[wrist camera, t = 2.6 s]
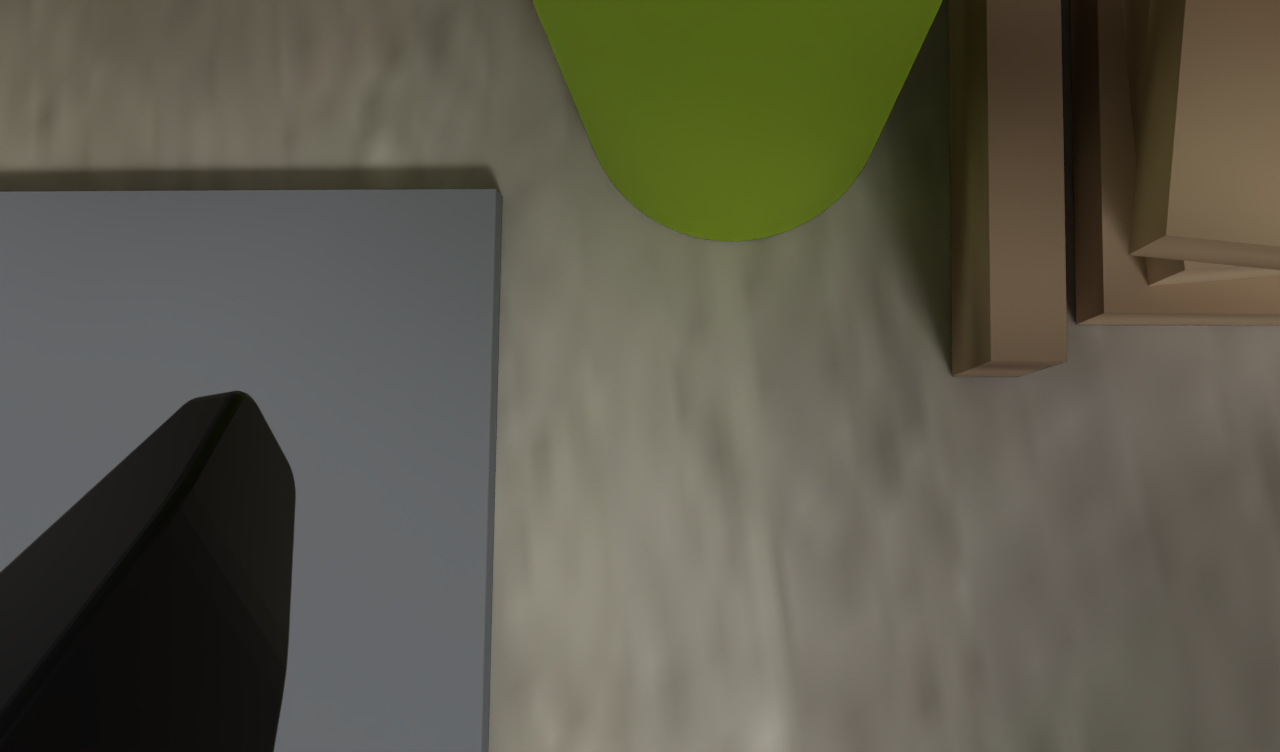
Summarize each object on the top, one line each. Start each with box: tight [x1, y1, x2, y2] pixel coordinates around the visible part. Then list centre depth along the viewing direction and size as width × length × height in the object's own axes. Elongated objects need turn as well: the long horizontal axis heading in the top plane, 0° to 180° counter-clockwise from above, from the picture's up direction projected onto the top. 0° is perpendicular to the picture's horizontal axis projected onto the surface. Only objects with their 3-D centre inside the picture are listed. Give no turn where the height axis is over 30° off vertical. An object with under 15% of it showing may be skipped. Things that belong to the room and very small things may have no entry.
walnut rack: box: [949, 0, 1067, 377], centre depth 19 cm, size 11×20×3 cm, turn 89°
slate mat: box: [0, 189, 503, 752], centre depth 21 cm, size 11×11×1 cm
